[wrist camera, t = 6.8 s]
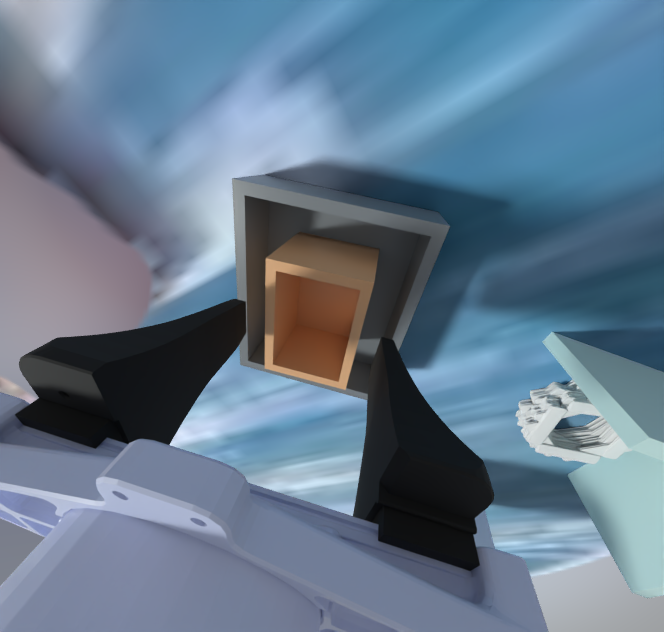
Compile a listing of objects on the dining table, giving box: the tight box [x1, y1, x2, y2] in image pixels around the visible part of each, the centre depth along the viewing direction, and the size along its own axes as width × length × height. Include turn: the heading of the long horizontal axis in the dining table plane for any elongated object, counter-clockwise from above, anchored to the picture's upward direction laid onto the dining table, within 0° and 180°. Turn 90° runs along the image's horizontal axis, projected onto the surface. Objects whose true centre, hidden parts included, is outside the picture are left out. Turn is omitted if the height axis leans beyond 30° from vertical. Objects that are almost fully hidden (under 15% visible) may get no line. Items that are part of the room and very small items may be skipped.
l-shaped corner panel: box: [516, 332, 664, 598], centre depth 17 cm, size 12×12×8 cm
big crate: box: [232, 175, 450, 400], centre depth 16 cm, size 10×12×4 cm
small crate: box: [265, 232, 379, 390], centre depth 15 cm, size 5×7×5 cm
